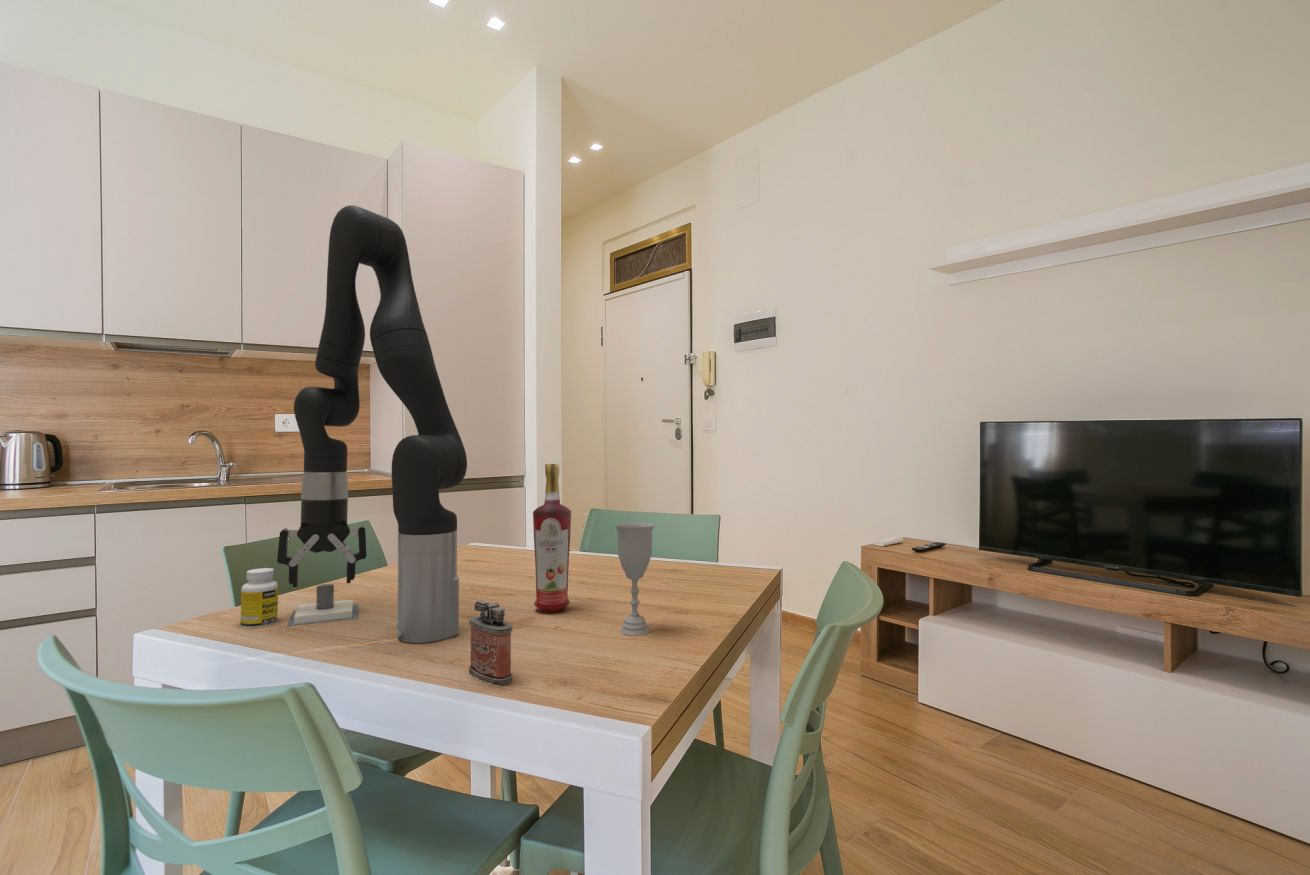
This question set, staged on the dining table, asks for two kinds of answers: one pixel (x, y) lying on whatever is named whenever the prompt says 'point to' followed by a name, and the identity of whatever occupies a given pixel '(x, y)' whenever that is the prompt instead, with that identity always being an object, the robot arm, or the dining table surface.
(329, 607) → the lid
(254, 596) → the supplement bottle
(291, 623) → the mat
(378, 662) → the dining table surface
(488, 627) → the lighter
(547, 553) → the liquor
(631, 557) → the chalice
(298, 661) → the dining table surface
